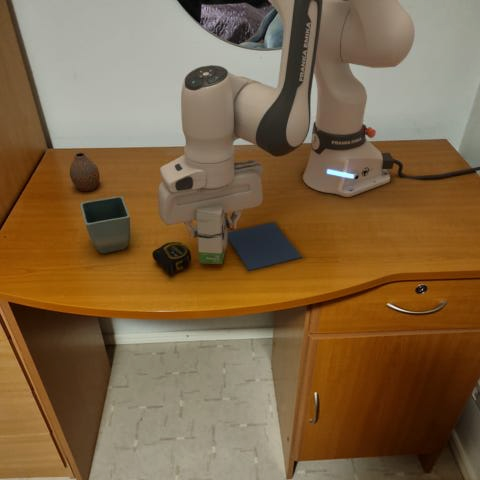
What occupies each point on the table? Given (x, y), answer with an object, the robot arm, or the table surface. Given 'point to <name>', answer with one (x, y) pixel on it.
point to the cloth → (262, 246)
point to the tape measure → (172, 257)
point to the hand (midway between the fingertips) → (212, 232)
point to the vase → (84, 172)
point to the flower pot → (107, 223)
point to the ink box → (211, 234)
